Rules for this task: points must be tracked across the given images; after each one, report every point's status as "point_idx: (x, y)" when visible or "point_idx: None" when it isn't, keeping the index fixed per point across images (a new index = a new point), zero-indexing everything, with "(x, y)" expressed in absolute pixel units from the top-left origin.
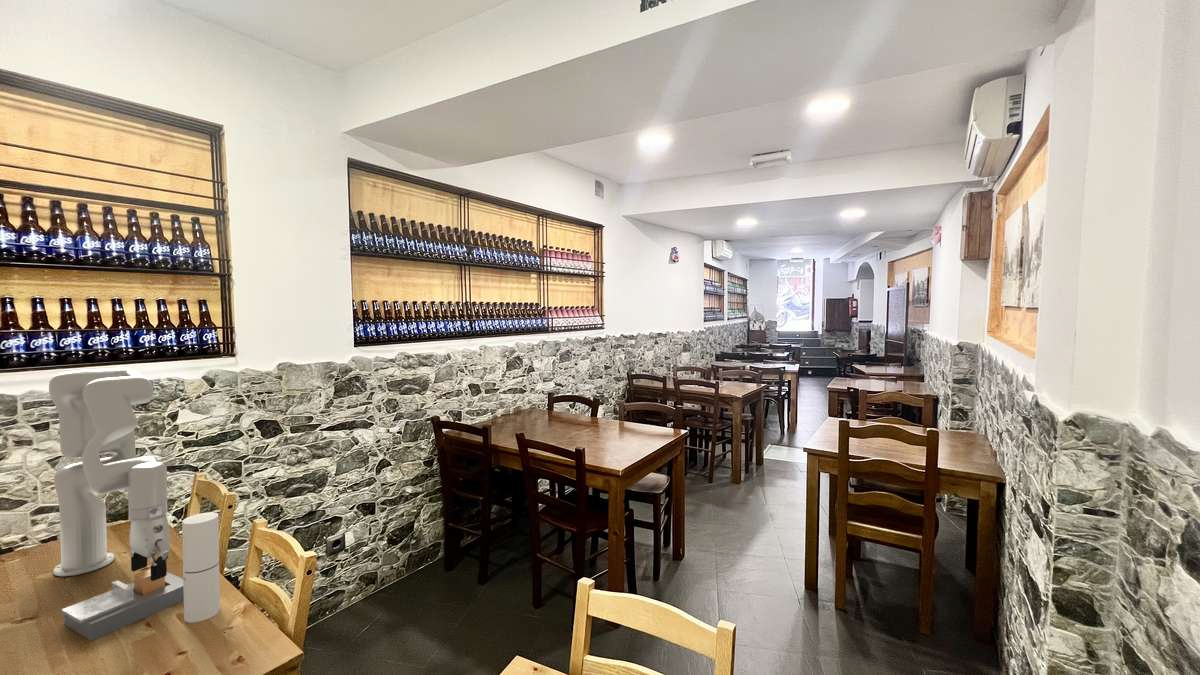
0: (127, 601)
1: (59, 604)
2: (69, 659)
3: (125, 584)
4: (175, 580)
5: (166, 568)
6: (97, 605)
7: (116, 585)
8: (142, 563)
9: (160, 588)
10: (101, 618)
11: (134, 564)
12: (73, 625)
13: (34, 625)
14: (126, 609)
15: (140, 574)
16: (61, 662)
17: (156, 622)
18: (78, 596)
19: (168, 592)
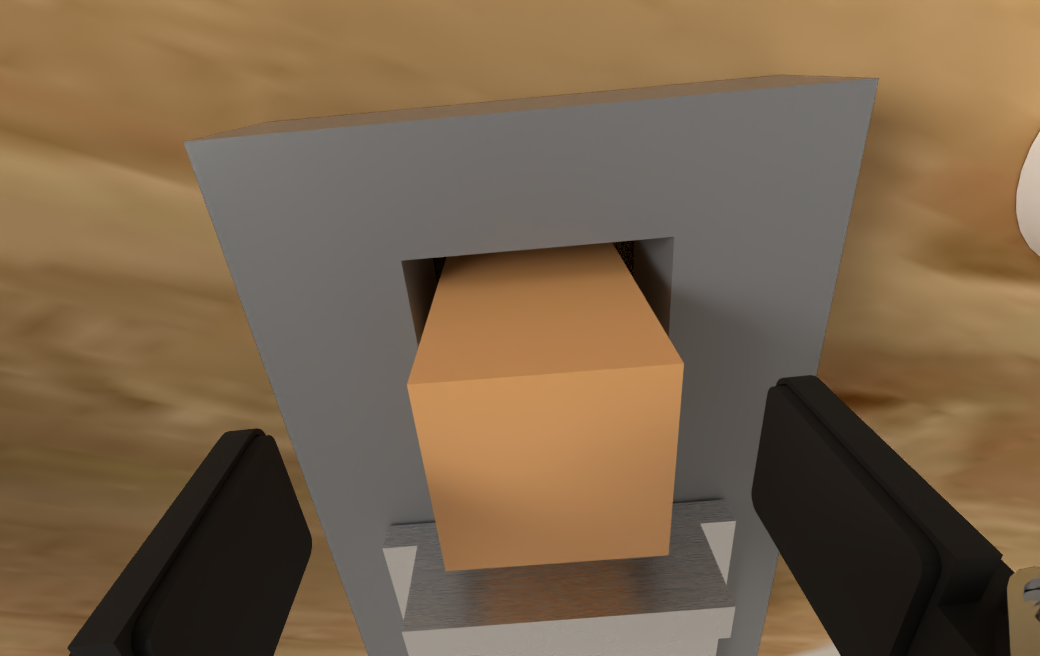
0: (724, 558)
1: (93, 572)
2: (785, 636)
3: (578, 619)
4: (625, 170)
5: (880, 440)
6: (584, 652)
7: (512, 647)
8: (260, 526)
9: (668, 325)
10: (739, 635)
11: (275, 618)
12: None
13: (293, 652)
14: (778, 551)
15: (508, 538)
16: (777, 651)
17: (879, 371)
18: (34, 508)
19: (825, 309)
